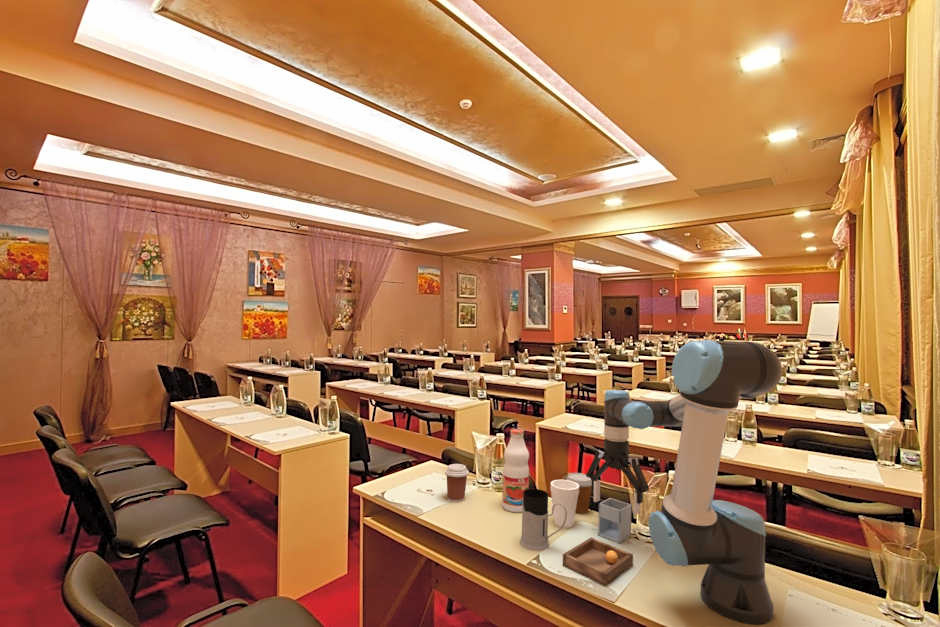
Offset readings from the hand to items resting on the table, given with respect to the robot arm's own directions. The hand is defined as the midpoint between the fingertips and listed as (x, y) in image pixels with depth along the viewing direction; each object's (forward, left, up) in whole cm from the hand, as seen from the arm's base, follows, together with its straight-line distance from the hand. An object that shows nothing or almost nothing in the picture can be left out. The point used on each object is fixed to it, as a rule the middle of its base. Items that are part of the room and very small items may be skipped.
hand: (616, 507), depth 139 cm
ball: (-13, +12, -9) cm, 20 cm away
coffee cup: (+46, +36, -10) cm, 59 cm away
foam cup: (+14, +10, -10) cm, 19 cm away
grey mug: (+4, +25, -10) cm, 27 cm away
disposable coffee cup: (+21, -2, -10) cm, 23 cm away
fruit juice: (+31, +19, -10) cm, 37 cm away
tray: (-11, +17, -9) cm, 22 cm away
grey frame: (+1, 0, -9) cm, 9 cm away
